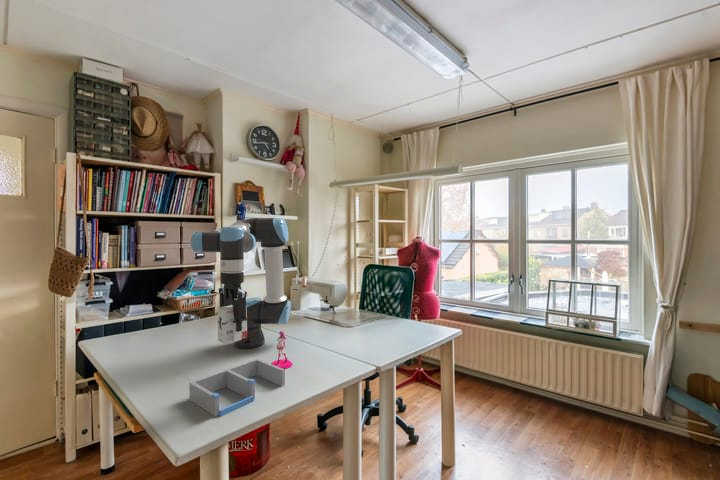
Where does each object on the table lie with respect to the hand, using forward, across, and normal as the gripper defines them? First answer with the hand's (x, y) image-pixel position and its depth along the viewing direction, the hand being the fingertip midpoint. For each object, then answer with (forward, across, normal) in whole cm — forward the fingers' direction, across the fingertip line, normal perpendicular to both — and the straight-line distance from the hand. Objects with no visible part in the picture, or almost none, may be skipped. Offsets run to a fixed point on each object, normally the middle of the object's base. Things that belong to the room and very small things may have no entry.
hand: (232, 338), depth 117 cm
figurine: (+21, -10, +30) cm, 38 cm away
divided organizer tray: (+21, -2, +4) cm, 22 cm away
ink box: (+1, 0, 0) cm, 1 cm away
